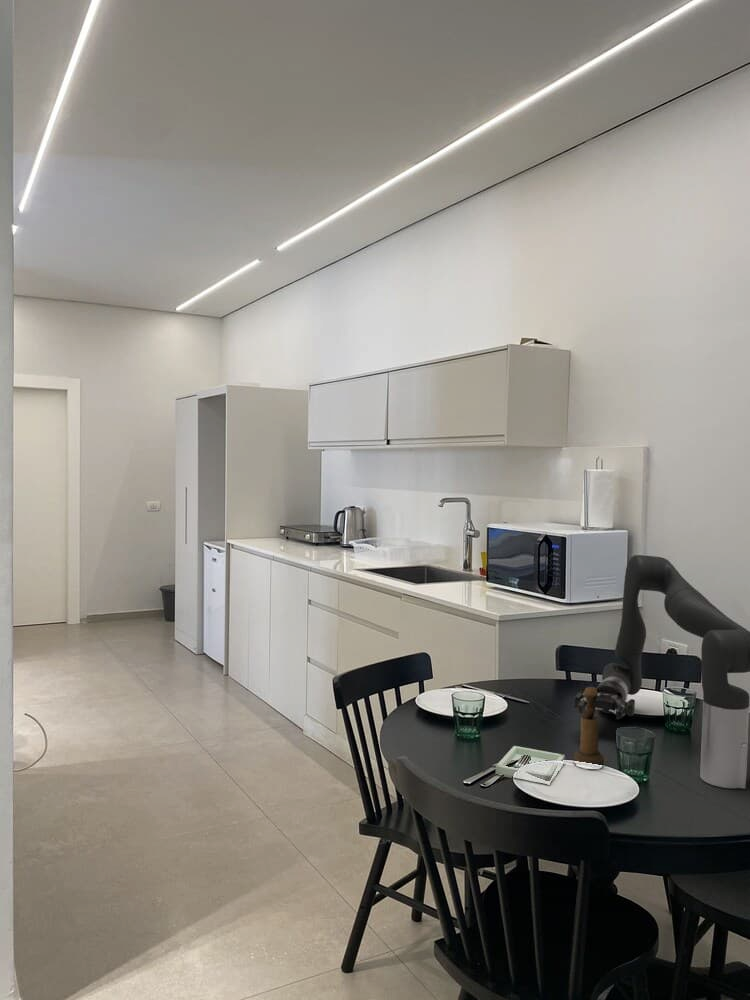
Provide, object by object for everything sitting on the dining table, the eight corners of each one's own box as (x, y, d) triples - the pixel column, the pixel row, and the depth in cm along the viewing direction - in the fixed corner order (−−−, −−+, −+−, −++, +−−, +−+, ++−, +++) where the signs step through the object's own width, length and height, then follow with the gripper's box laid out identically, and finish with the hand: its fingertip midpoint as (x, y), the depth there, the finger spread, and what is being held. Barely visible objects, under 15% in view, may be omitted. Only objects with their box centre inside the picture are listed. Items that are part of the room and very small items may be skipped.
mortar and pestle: (568, 764, 185) (570, 687, 184) (582, 757, 190) (584, 681, 189) (595, 772, 180) (597, 693, 179) (608, 764, 185) (611, 687, 184)
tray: (564, 763, 185) (564, 754, 185) (549, 785, 173) (549, 776, 173) (513, 754, 191) (514, 745, 191) (495, 774, 178) (495, 765, 178)
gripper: (583, 676, 212) (569, 692, 197) (640, 683, 206) (630, 701, 191) (582, 704, 212) (568, 722, 198) (639, 712, 206) (629, 732, 191)
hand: (599, 712), depth 194 cm, fingers open, 8 cm apart
